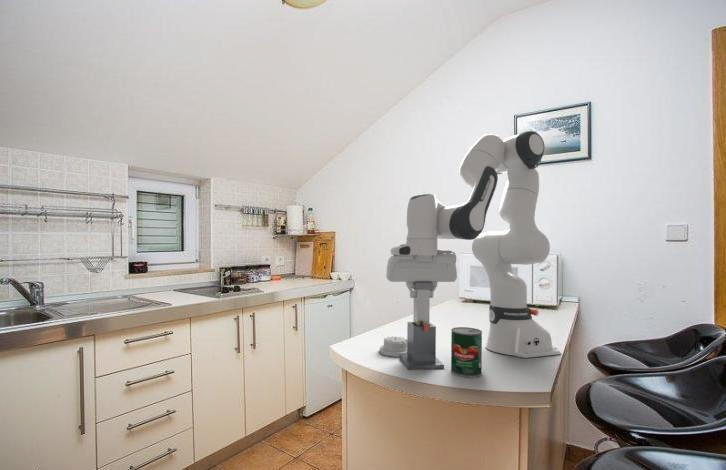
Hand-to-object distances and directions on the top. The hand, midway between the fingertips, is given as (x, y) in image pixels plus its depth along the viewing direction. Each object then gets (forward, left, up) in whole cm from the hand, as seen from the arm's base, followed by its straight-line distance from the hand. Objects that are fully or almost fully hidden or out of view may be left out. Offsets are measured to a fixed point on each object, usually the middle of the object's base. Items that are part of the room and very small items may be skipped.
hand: (421, 297), depth 100 cm
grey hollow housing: (0, 0, -19) cm, 19 cm away
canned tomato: (-10, +8, -19) cm, 23 cm away
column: (0, 0, -12) cm, 12 cm away
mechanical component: (+5, -11, -19) cm, 22 cm away
